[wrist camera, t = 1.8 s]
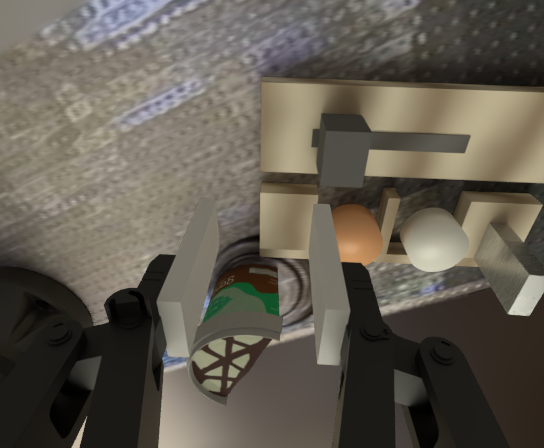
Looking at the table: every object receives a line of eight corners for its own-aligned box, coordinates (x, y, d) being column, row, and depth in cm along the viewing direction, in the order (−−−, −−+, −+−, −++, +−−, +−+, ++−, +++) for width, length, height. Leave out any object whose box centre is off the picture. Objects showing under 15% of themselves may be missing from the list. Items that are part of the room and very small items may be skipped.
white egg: (394, 250, 33) (402, 270, 31) (406, 206, 30) (416, 224, 28) (446, 253, 33) (458, 273, 30) (463, 208, 30) (477, 226, 28)
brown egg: (319, 247, 33) (321, 266, 31) (324, 202, 30) (327, 220, 28) (370, 249, 33) (377, 269, 31) (380, 205, 30) (388, 222, 28)
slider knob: (316, 163, 28) (319, 186, 25) (321, 113, 26) (326, 130, 23) (353, 164, 28) (362, 187, 25) (361, 114, 26) (372, 132, 23)
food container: (230, 235, 35) (212, 310, 27) (284, 258, 37) (282, 337, 28) (188, 310, 42) (163, 390, 33) (236, 328, 43) (223, 409, 35)
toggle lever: (473, 257, 33) (507, 313, 27) (488, 222, 31) (529, 275, 25) (491, 259, 33) (529, 315, 27) (507, 223, 31) (553, 276, 25)
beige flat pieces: (261, 244, 36) (259, 257, 34) (263, 76, 27) (261, 82, 25) (499, 255, 35) (510, 268, 34) (580, 88, 27) (601, 94, 25)
